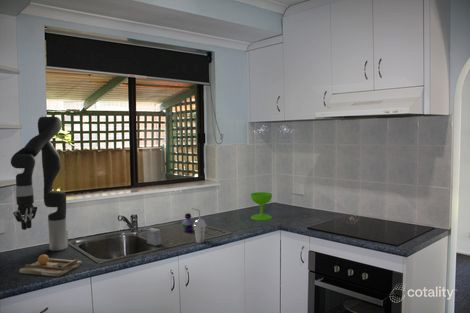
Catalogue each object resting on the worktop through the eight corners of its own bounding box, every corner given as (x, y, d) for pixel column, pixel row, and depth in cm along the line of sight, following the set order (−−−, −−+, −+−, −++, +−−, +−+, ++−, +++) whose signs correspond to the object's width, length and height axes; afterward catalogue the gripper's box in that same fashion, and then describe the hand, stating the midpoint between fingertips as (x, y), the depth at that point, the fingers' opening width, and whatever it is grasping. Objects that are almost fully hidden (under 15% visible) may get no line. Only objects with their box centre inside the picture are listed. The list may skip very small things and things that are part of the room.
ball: (43, 262, 196) (42, 252, 196) (51, 263, 195) (51, 253, 194) (35, 265, 191) (35, 255, 191) (44, 266, 190) (43, 256, 190)
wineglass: (261, 214, 304) (261, 191, 303) (276, 217, 292) (276, 194, 291) (246, 217, 294) (246, 194, 293) (261, 221, 282) (260, 196, 281)
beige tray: (45, 260, 203) (44, 254, 203) (81, 264, 197) (81, 257, 197) (19, 272, 186) (19, 265, 186) (58, 276, 181) (58, 269, 181)
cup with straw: (197, 244, 228) (196, 210, 226) (189, 241, 235) (189, 208, 233) (209, 242, 233) (209, 208, 231) (201, 238, 240) (201, 206, 238)
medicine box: (161, 244, 229) (160, 229, 229) (154, 246, 226) (154, 231, 226) (153, 241, 235) (152, 227, 234) (146, 243, 231) (146, 229, 231)
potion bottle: (180, 233, 253) (179, 214, 252) (183, 229, 262) (183, 212, 261) (193, 233, 252) (192, 215, 251) (196, 229, 261) (195, 212, 260)
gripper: (29, 191, 200) (30, 225, 202) (7, 196, 187) (9, 232, 188) (41, 192, 198) (43, 225, 200) (20, 197, 185) (22, 232, 186)
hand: (26, 228), depth 194 cm, fingers closed
